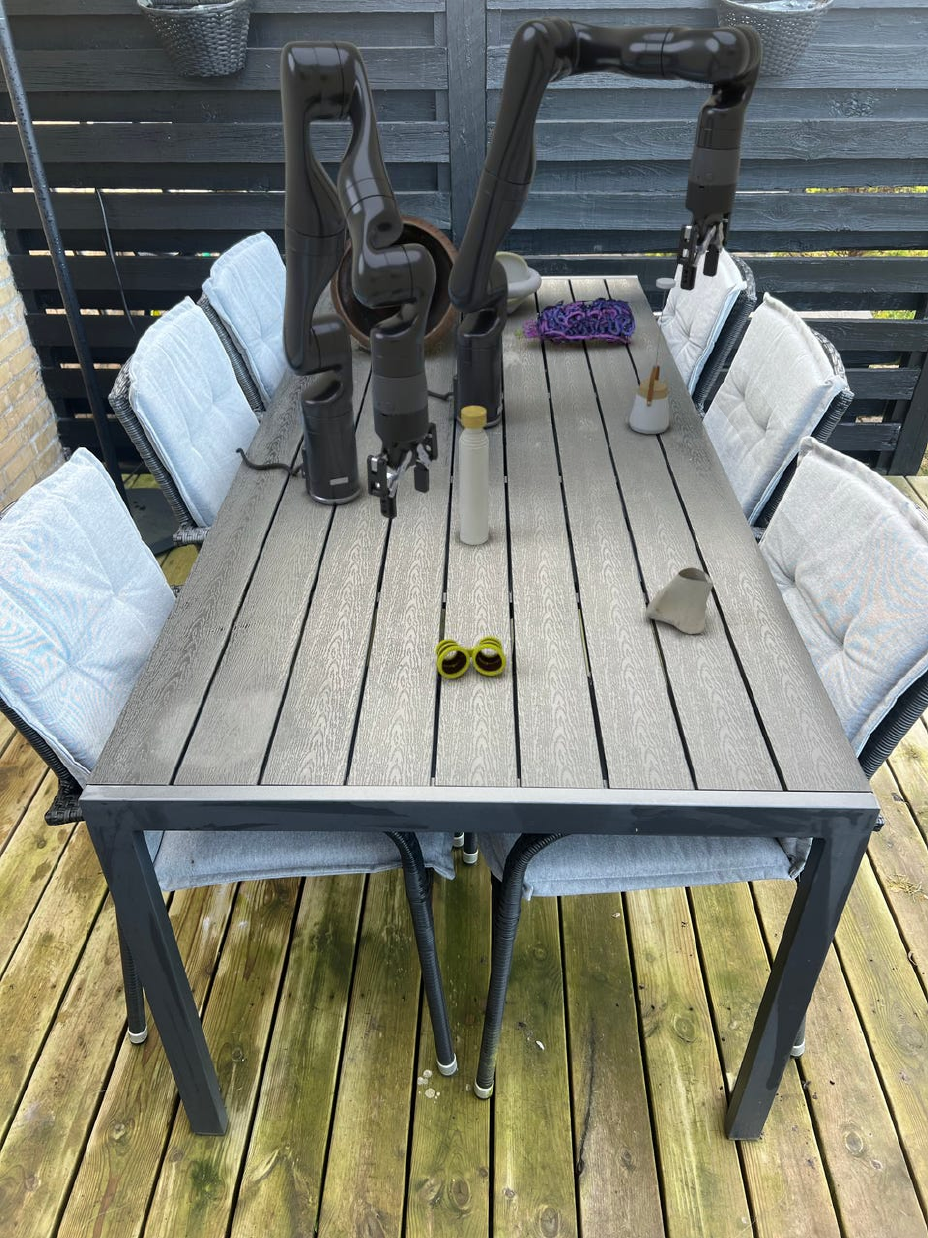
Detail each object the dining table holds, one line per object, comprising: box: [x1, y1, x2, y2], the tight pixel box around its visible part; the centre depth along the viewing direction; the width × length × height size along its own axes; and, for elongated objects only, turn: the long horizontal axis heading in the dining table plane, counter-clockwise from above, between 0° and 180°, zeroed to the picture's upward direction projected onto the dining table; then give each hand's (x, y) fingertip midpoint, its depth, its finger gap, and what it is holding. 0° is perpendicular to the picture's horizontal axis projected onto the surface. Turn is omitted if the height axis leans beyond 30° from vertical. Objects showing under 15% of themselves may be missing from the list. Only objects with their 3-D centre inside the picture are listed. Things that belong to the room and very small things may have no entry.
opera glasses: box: [435, 635, 507, 679], centre depth 132 cm, size 10×5×5 cm, turn 95°
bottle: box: [458, 427, 490, 546], centre depth 155 cm, size 5×5×23 cm
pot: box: [329, 213, 460, 351], centre depth 230 cm, size 32×32×30 cm
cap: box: [460, 406, 486, 429], centre depth 148 cm, size 4×4×2 cm
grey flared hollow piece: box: [645, 566, 715, 635], centre depth 139 cm, size 9×8×10 cm
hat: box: [495, 251, 543, 314], centre depth 248 cm, size 25×22×15 cm
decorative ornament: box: [513, 296, 636, 345], centre depth 229 cm, size 13×11×30 cm
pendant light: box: [628, 277, 677, 435], centre depth 186 cm, size 8×8×30 cm
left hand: (406, 503), depth 136 cm, fingers open, 8 cm apart
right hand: (698, 282), depth 155 cm, fingers open, 8 cm apart
